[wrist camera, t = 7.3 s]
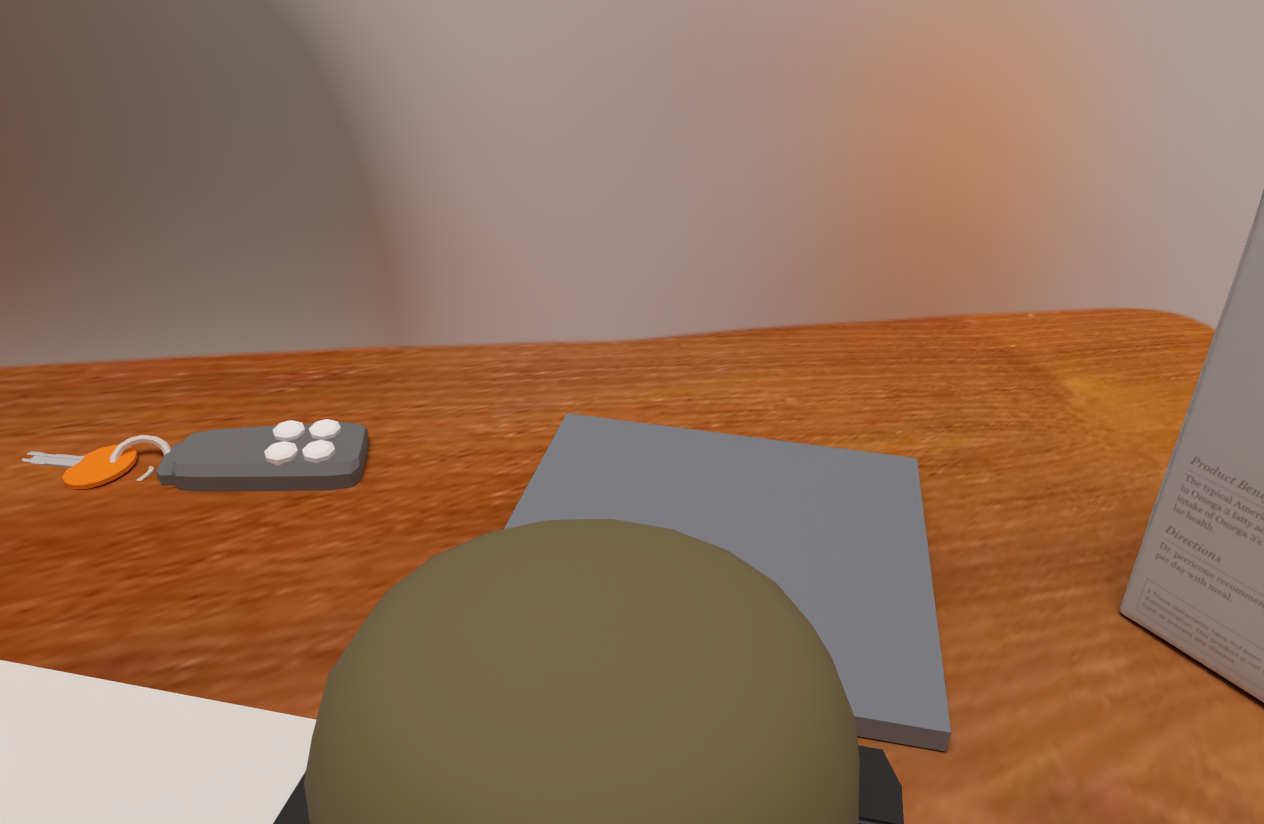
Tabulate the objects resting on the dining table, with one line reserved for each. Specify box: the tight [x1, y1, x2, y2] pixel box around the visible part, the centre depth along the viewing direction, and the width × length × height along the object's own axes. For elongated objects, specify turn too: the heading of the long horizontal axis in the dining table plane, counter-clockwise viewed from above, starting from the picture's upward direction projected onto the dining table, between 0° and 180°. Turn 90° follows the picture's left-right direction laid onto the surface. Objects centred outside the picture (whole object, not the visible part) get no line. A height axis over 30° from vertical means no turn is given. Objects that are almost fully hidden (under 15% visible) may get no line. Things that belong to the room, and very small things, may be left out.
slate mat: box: [504, 413, 951, 752], centre depth 27 cm, size 12×12×1 cm
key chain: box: [22, 419, 369, 491], centre depth 30 cm, size 13×4×2 cm, turn 98°
